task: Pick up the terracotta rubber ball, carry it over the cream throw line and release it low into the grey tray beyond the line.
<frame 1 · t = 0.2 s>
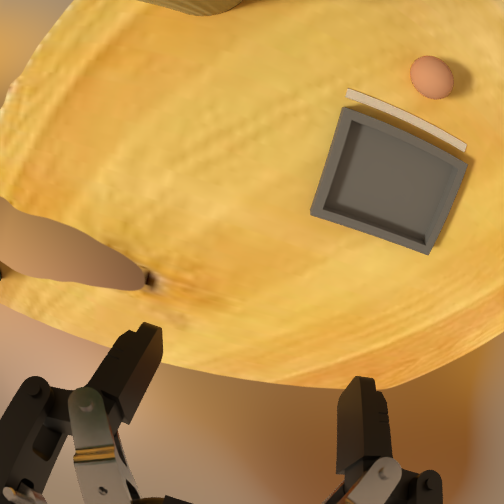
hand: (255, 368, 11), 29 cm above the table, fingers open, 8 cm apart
ball: (432, 77, 23), point 3 cm above the table
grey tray: (390, 183, 33), on the table
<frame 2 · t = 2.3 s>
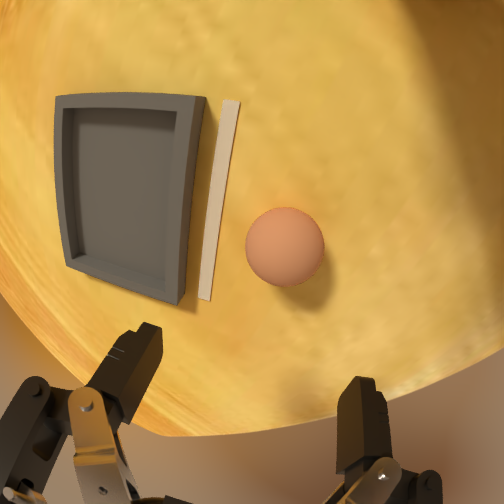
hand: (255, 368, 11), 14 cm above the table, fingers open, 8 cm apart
ball: (284, 247, 20), point 3 cm above the table
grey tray: (120, 192, 23), on the table
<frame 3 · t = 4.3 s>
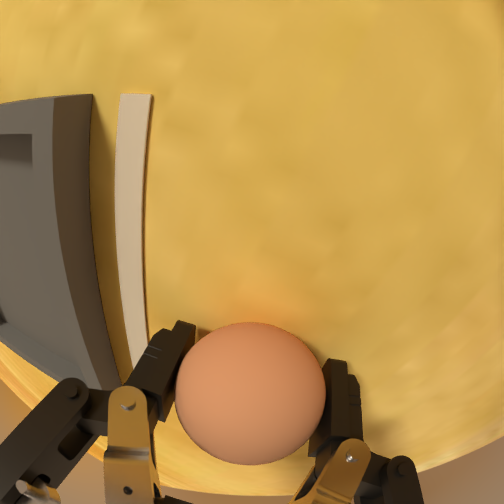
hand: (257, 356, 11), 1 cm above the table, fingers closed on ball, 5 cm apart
ball: (249, 394, 10), point 3 cm above the table, touching gripper
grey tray: (16, 255, 13), on the table
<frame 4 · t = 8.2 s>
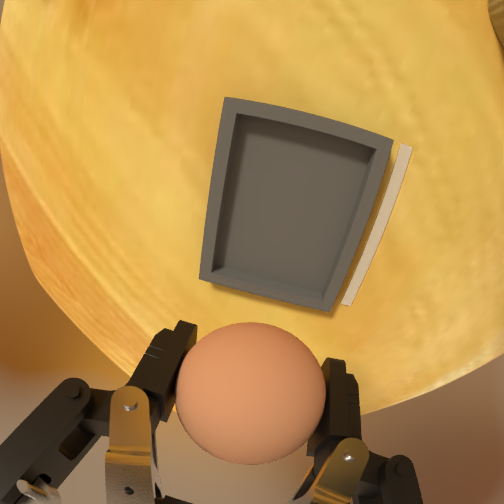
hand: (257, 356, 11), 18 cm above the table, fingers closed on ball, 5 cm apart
ball: (250, 394, 10), point 19 cm above the table, touching gripper
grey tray: (287, 208, 26), on the table
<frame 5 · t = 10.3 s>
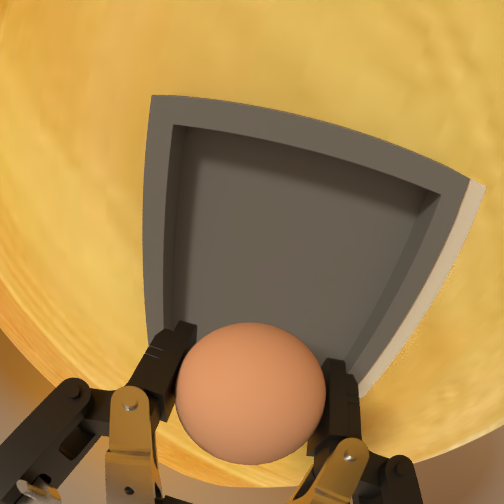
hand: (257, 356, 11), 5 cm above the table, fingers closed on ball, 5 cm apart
ball: (250, 394, 10), point 7 cm above the table, touching gripper
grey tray: (275, 284, 16), on the table
when the fingers open (3 cm above the table, at t = 11.8 s): ball drops 2 cm, resting on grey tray.
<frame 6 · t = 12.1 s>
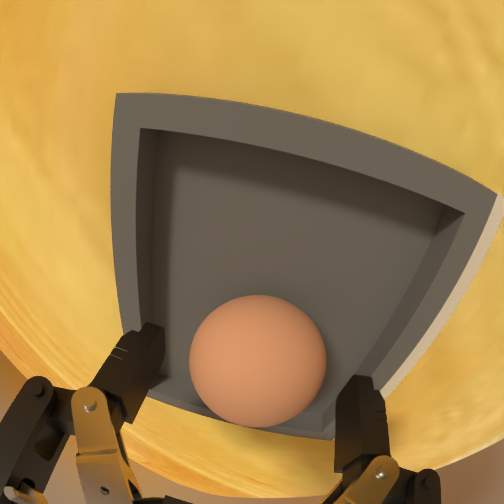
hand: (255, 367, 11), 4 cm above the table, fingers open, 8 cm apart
ball: (257, 361, 11), point 3 cm above the table, touching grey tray
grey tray: (267, 311, 14), on the table
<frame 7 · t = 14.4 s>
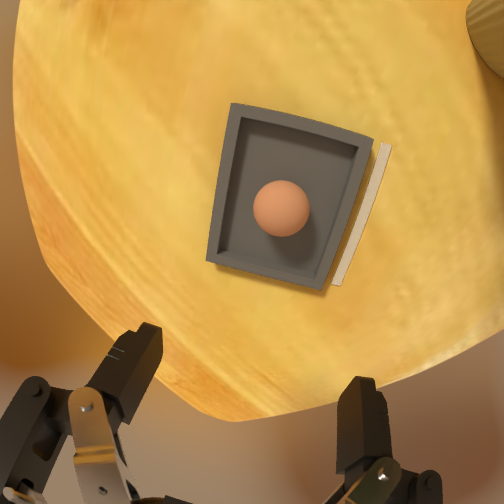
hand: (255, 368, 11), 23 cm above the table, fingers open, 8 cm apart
potted cactus: (499, 39, 15), on the table
ball: (281, 208, 28), point 3 cm above the table, touching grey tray
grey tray: (283, 198, 31), on the table
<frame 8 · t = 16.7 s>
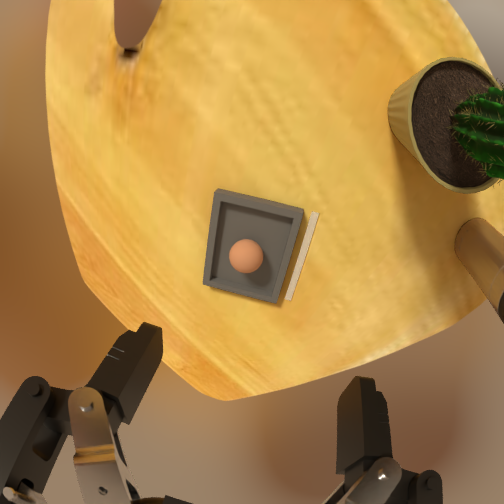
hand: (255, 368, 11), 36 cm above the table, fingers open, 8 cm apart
potted cactus: (420, 117, 34), on the table
ball: (246, 256, 47), point 3 cm above the table, touching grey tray
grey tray: (249, 246, 50), on the table
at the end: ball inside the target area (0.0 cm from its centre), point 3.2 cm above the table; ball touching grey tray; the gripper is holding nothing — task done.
